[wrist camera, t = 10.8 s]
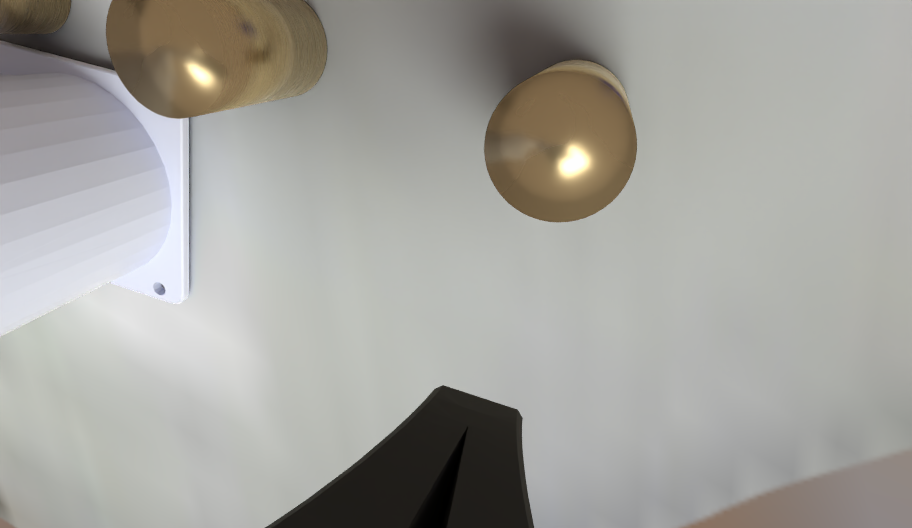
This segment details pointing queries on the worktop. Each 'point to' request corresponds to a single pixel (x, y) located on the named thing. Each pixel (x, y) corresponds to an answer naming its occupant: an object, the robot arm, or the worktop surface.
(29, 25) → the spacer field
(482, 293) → the worktop surface
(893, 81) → the worktop surface
